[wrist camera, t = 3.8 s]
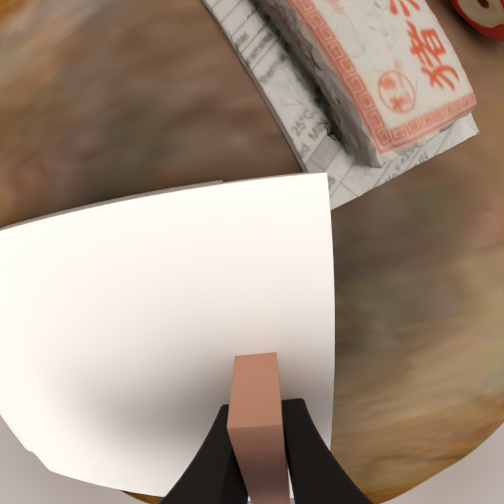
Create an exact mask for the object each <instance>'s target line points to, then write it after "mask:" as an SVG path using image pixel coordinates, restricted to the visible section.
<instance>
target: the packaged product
mask: <svg viewBox="0 0 504 504" xmlns="http://www.w3.org/2000/svg"><path fill="white" fill-rule="evenodd" d="M202 1H203V2H204V4H205V5H206V7H207V8H208V9H209V11H210V12H211V14H212V15H213V17H214V18H215V20H216V21H217V23H218V24H219V26H220V28H221V29H222V31H223V32H224V34H225V35H226V37H227V39H228V40H229V42H230V44H231V45H232V47H233V49H234V50H235V52H236V54H237V56H238V57H239V59H240V60H241V62H242V64H243V65H244V67H245V69H246V70H247V72H248V74H249V75H250V77H251V79H252V80H253V82H254V84H255V85H256V87H257V89H258V90H259V92H260V94H261V95H262V97H263V99H264V101H265V102H266V104H267V106H268V108H269V109H270V111H271V113H272V115H273V116H274V118H275V120H276V122H277V124H278V125H279V127H280V129H281V131H282V133H283V134H284V136H285V138H286V140H287V142H288V144H289V145H290V147H291V149H292V151H293V153H294V155H295V157H296V159H297V161H298V162H299V164H300V166H301V168H302V170H303V172H304V173H307V172H318V171H323V172H327V179H328V190H329V202H330V211H331V210H332V209H334V208H336V207H338V206H340V205H342V204H344V203H346V202H348V201H350V200H352V199H355V198H357V197H358V196H360V195H362V194H363V193H365V192H367V191H369V190H371V189H373V188H375V187H377V186H379V185H381V184H383V183H385V182H387V181H389V180H391V179H392V178H394V177H396V176H398V175H400V174H402V173H404V172H405V171H407V170H409V169H411V168H413V167H415V166H417V165H418V164H420V163H422V162H424V161H426V160H428V159H430V158H431V157H433V156H435V155H437V154H440V153H442V152H444V151H446V150H448V149H450V148H451V147H453V146H455V145H457V144H459V143H461V142H463V141H465V140H466V139H467V138H469V137H471V136H473V135H476V134H478V133H479V131H478V128H477V126H476V124H475V122H474V119H473V117H472V114H471V112H472V110H473V109H474V108H475V106H477V105H478V104H477V100H476V97H475V94H474V92H473V90H472V87H471V85H470V82H469V80H468V77H467V75H466V72H465V70H464V68H463V66H462V64H461V62H460V60H459V58H458V56H457V54H456V52H455V50H454V48H453V46H452V44H451V42H450V40H449V39H448V37H447V35H446V33H445V31H444V30H443V28H442V26H441V24H440V22H439V21H438V19H437V18H436V16H435V15H434V13H433V11H432V10H431V8H430V7H429V5H428V4H427V2H426V1H425V0H202Z"/></svg>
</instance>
